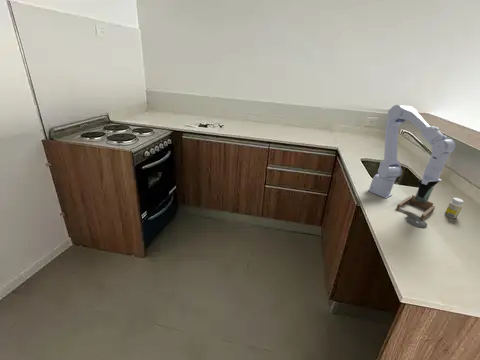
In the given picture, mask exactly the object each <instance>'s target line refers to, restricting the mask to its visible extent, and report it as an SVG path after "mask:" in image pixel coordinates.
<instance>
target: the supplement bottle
mask: <svg viewBox="0 0 480 360" xmlns="http://www.w3.org/2000/svg"><path fill="white" fill-rule="evenodd" d="M463 204H464V200H463V199H461V198H459V197H453V198H452V200H451V201H450V202H449V204H448V206H447V208H446V210H445V212H444V215H446V216H447V217H449V218H452V219H456V218H457V217H458V216H459V214H460V212H461V210H462V208H463Z"/></svg>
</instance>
